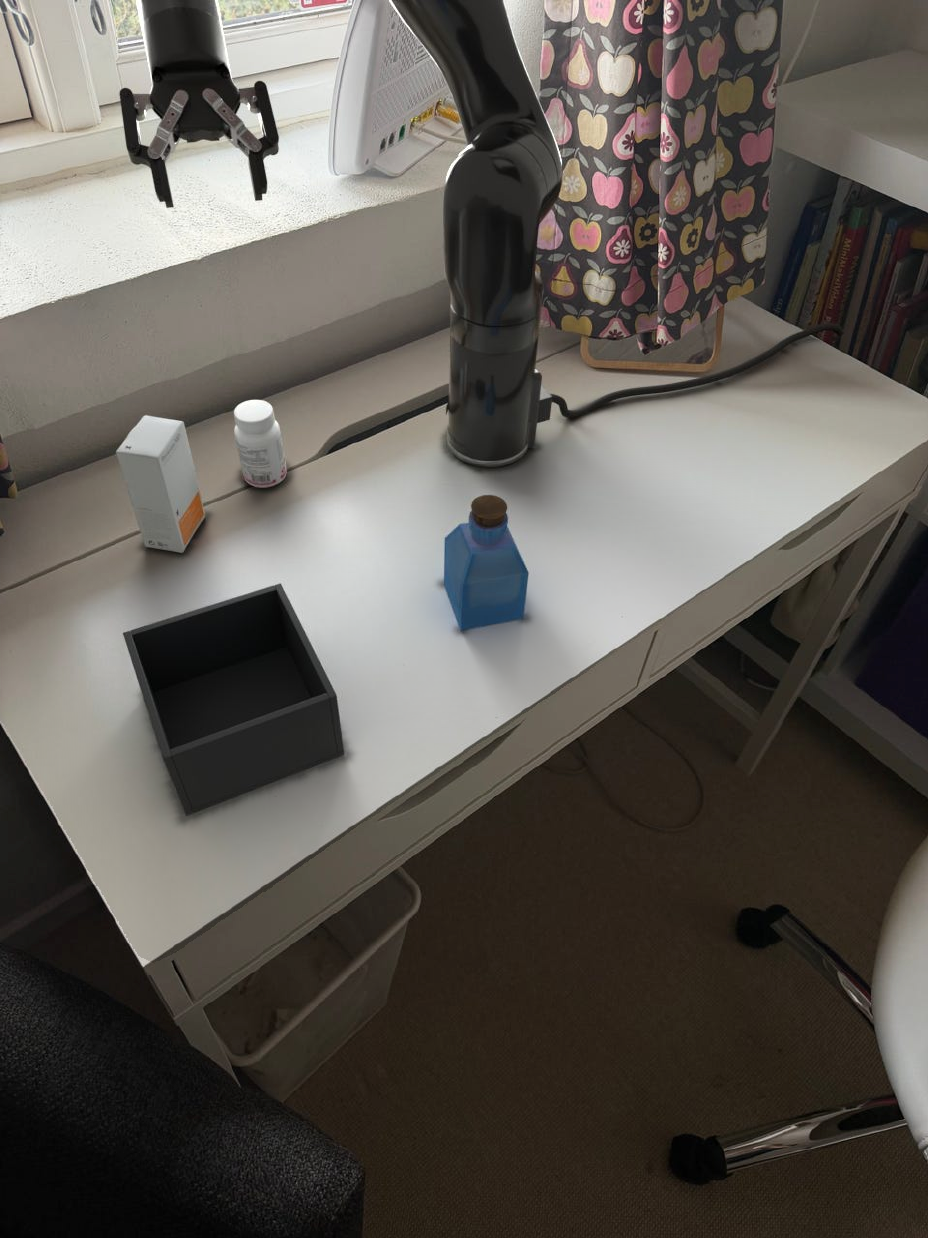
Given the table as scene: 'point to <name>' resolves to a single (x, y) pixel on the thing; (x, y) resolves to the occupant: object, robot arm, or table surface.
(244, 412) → the pill bottle
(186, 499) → the cosmetic box
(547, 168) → the robot arm
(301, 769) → the open box
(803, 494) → the table surface
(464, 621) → the perfume bottle
